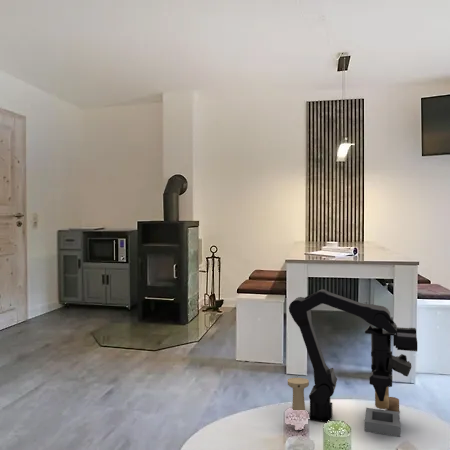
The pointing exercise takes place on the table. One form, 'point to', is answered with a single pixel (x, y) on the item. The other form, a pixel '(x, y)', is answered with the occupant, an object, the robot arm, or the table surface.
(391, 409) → the short peg
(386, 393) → the long peg
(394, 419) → the block
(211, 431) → the table surface
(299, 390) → the handle
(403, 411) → the table surface
